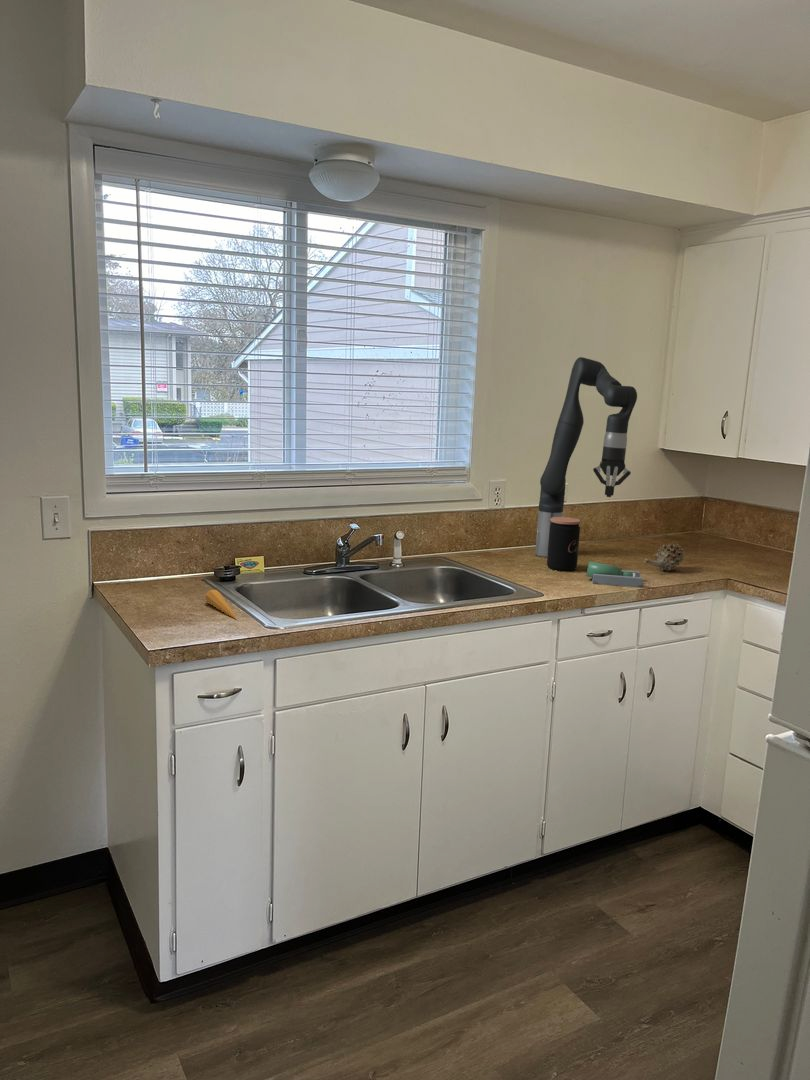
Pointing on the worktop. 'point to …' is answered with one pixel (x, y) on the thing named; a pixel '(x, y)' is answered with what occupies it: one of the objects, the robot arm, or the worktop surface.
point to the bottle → (605, 570)
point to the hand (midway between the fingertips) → (608, 496)
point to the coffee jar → (563, 543)
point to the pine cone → (667, 557)
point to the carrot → (219, 602)
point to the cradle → (619, 579)
